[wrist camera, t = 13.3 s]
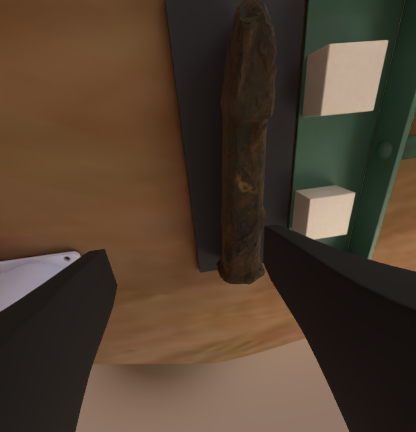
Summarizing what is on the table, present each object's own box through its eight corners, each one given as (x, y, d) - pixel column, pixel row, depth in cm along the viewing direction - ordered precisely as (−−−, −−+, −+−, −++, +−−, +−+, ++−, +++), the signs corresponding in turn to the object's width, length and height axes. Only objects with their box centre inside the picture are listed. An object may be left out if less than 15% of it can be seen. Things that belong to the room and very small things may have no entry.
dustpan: (284, 264, 23) (297, 281, 20) (308, -28, 13) (340, -64, 11) (419, 242, 24) (447, 256, 22) (529, -36, 15) (603, -69, 12)
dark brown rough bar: (253, 258, 21) (271, 290, 17) (214, 261, 21) (224, 296, 17) (277, 19, 14) (321, -28, 10) (217, 15, 13) (237, -36, 9)
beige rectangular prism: (301, 117, 17) (320, 116, 14) (307, 55, 15) (329, 43, 13) (348, 112, 17) (374, 110, 15) (359, 51, 15) (389, 39, 13)
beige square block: (291, 228, 21) (305, 241, 19) (295, 190, 19) (310, 199, 17) (329, 223, 21) (346, 234, 19) (336, 184, 19) (355, 192, 17)
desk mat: (199, 270, 22) (199, 272, 21) (164, -1, 13) (164, -4, 13) (282, 257, 22) (284, 259, 22) (302, -7, 14) (306, -11, 13)
